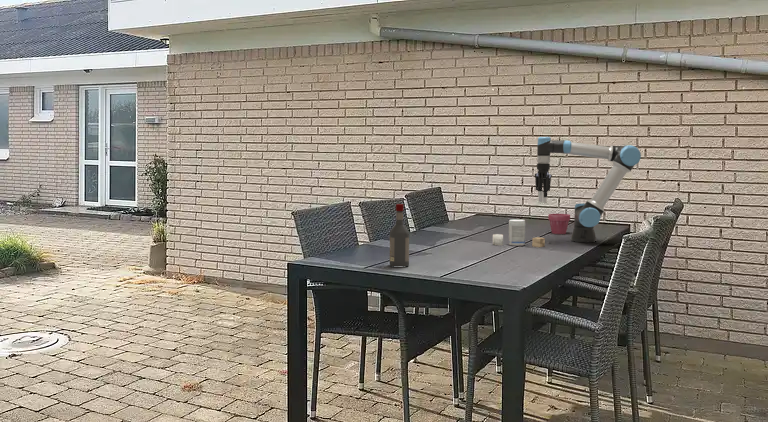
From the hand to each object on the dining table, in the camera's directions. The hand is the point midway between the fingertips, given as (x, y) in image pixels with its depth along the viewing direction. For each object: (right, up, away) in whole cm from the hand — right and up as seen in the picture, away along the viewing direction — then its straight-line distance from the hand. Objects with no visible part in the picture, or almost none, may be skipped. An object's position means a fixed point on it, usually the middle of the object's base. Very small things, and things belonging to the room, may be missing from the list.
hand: (542, 202), depth 426 cm
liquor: (-87, -32, -79) cm, 122 cm away
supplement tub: (-16, -25, -6) cm, 31 cm away
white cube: (-27, -25, -5) cm, 38 cm away
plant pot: (+22, -20, +49) cm, 57 cm away
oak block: (-5, -26, -11) cm, 28 cm away
